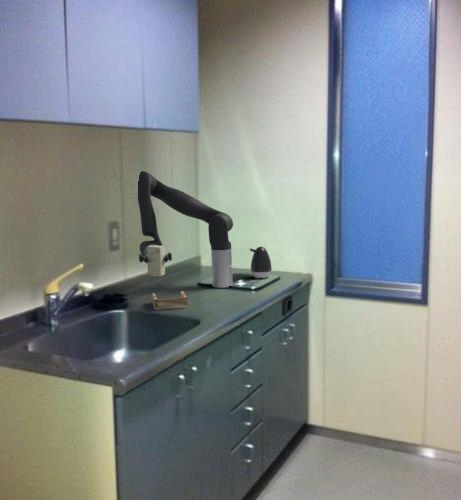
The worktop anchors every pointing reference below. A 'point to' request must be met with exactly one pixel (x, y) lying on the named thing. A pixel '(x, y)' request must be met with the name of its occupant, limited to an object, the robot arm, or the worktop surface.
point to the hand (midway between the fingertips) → (156, 260)
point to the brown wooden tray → (170, 302)
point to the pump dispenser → (260, 263)
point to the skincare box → (156, 260)
